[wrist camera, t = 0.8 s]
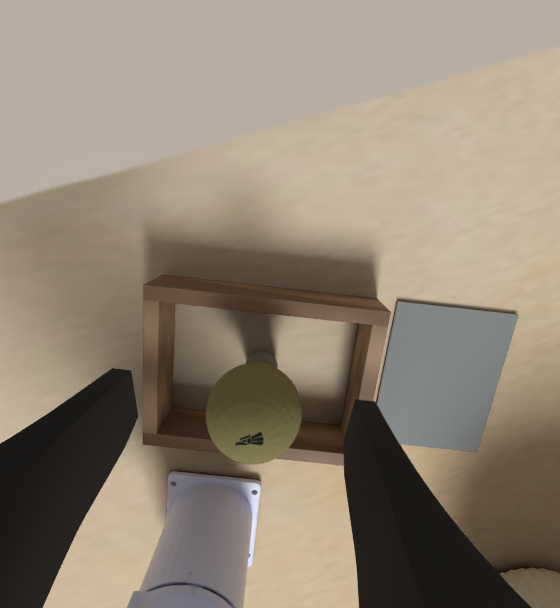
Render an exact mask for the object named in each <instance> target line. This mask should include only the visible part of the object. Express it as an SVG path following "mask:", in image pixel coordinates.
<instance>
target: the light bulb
mask: <svg viewBox="0 0 560 608" xmlns="http://www.w3.org/2000/svg"><path fill="white" fill-rule="evenodd" d="M301 418H302V409H301V401H300V397H299V395H298V392H297V390H296V388H295V386H294V385H293V383H292V381H291V380H290V379H289V378H288V377H287V376H286V375H285V374H284V373H283V372H281V371H280V370H278V369H277V361H276V359H275V357H274V356H273V355H272V354H270V353H268V352H265V351H258V352H255V353H253V354H251V355H250V356H249V358H248V359H247V362H246V364H243V365H240V366H238V367H236V368H233V369H232V370H230V371H228V372H227V373H226V374H225V375H224V376H223V377H222V378H221V379H220V380H219V381H218V382H217V383H216V385H215V386H214V388H213V390H212V392H211V394H210V396H209V398H208V402H207V407H206V423H207V427H208V431H209V435H210V437H211V439H212V441H213V442H214V444H215V445H216V446H217V448H218V449H219V450H220V451H221V452H222V453H223V454H224V455H225V456H227V457H229V458H230V459H232V460H234V461H237V462H240V463H244V464H262V463H266V462H269V461H271V460H273V459H275V458H277V457H278V456H280V455H281V454H282V453H284V452H285V451H286V450H287V449H288V448H289V447H290V445H291V444H292V443H293V441H294V439H295V437H296V436H297V434H298V431H299V428H300V424H301Z"/></svg>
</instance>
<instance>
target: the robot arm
mask: <svg viewBox="0 0 560 608" xmlns="http://www.w3.org/2000/svg"><path fill="white" fill-rule="evenodd" d="M137 418H138V412H137V406H136V399H135V393H134V386H133V380H132V373H131V371H130V370H122V369H114V368H112V369H111V370H109V371H108V372H107V373H105V374H104V375H102V376H101V377H99V378H98V379H97V380H95V381H94V382H92V383H91V384H90V385H88V386H87V387H85V388H84V389H83V390H81V391H80V392H78V393H77V394H76V395H74V396H73V397H71V398H70V399H68V400H67V401H66V402H64V403H63V404H61V405H60V406H58V407H57V408H55V409H54V410H53V411H51V412H50V413H48V414H47V415H45V416H44V417H42V418H40V419H39V420H37V421H36V422H34V423H33V424H31V425H29V426H28V427H26V428H25V429H23V430H22V431H20V432H19V433H17V434H15V435H14V436H12V437H11V438H9V439H7V440H6V441H4V442H2V443H1V444H0V608H43V605H44V603H45V601H46V599H47V596H48V594H49V592H50V590H51V587H52V585H53V583H54V581H55V578H56V576H57V574H58V571H59V569H60V567H61V565H62V563H63V561H64V558H65V556H66V554H67V552H68V550H69V548H70V546H71V543H72V541H73V539H74V537H75V535H76V533H77V531H78V529H79V527H80V525H81V523H82V521H83V520H84V518H85V516H86V514H87V512H88V511H89V509H90V507H91V505H92V504H93V502H94V500H95V498H96V497H97V495H98V493H99V492H100V490H101V488H102V486H103V485H104V483H105V481H106V479H107V478H108V476H109V474H110V473H111V471H112V469H113V467H114V466H115V464H116V462H117V460H118V458H119V457H120V455H121V453H122V451H123V450H124V448H125V446H126V444H127V441H128V439H129V437H130V435H131V432H132V430H133V427H134V425H135V422H136V420H137ZM343 447H344V476H345V484H346V491H347V498H348V506H349V513H350V520H351V527H352V534H353V541H354V548H355V556H356V565H357V578H358V596H359V608H532V607H531V606H530V605H529V604H528V603H527V602H526V601H525V600H524V599H523V598H522V597H521V596H520V595H519V594H518V593H517V592H516V591H515V590H514V589H513V588H512V587H511V586H510V585H509V584H508V583H507V582H506V580H505V579H504V578H503V577H502V576H501V575H500V574H499V573H498V572H497V571H496V570H495V569H494V567H493V566H492V565H491V564H490V563H489V562H488V561H487V560H486V559H485V558H484V557H483V555H482V554H481V553H480V552H479V551H478V550H477V549H476V547H475V546H474V545H473V544H472V543H471V542H470V540H469V539H468V538H467V537H466V536H465V534H464V533H463V532H462V531H461V530H460V528H459V527H458V526H457V525H456V523H455V522H454V521H453V520H452V518H451V517H450V516H449V515H448V513H447V512H446V511H445V509H444V508H443V507H442V506H441V504H440V503H439V502H438V500H437V499H436V497H435V496H434V495H433V493H432V492H431V491H430V489H429V488H428V486H427V485H426V483H425V482H424V481H423V479H422V478H421V476H420V475H419V473H418V472H417V470H416V469H415V467H414V466H413V464H412V463H411V461H410V460H409V458H408V456H407V455H406V453H405V452H404V450H403V449H402V447H401V445H400V444H399V442H398V440H397V439H396V437H395V435H394V434H393V432H392V430H391V429H390V427H389V425H388V423H387V422H386V420H385V418H384V416H383V414H382V413H381V411H380V409H379V407H378V405H377V404H376V403H375V401H367V400H359V399H355V402H354V406H353V409H352V413H351V417H350V420H349V424H348V428H347V431H346V435H345V439H344V442H343ZM173 481H174V482H176V483H173ZM253 490H256V491H253ZM260 492H261V483H260V481H258V480H253V479H243V478H234V477H224V476H214V475H205V474H195V473H186V472H176V471H173V472H171V473H170V474H169V476H168V493H167V521H166V523H165V526H164V528H163V531H162V533H161V536H160V539H159V541H158V544H157V546H156V549H155V551H154V554H153V557H152V559H151V562H150V564H149V567H148V570H147V572H146V575H145V577H144V580H143V582H142V585H141V588H140V590H139V591H134V592H133V594H132V597H131V599H130V602H129V604H128V607H127V608H243V604H244V595H245V586H246V576H247V567H250V566H251V565H252V562H253V553H254V544H255V536H256V527H257V518H258V509H259V501H260Z"/></svg>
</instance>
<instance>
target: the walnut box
mask: <svg viewBox="0 0 560 608" xmlns="http://www.w3.org/2000/svg"><path fill="white" fill-rule="evenodd" d="M175 303H176V304H185V305H194V306H204V307H213V308H222V309H231V310H240V311H249V312H258V313H267V314H277V315H286V316H295V317H304V318H313V319H322V320H331V321H341V322H350V323H359V328H358V333H357V339H356V344H355V350H354V356H353V361H352V367H351V373H350V378H349V384H348V390H347V395H346V401H345V406H344V412H343V418H342V423H341V426H339V425H330V424H320V423H311V422H302V421H301V424H300V428H299V431H298V434H297V436H296V437H295V439H294V441H293V443H292V444H291V445H290V447H289V448H288V449H287V450H286V451H285V452H284V453H282V454H281V455H280V456H278V457H277V458H275V459H285V460H294V461H304V462H313V463H323V464H332V465H342V466H344V447H343V442H344V439H345V435H346V431H347V428H348V424H349V420H350V417H351V413H352V409H353V406H354V402H355V399H359V400H367V401H373V398H374V393H375V388H376V383H377V378H378V373H379V368H380V363H381V358H382V353H383V348H384V343H385V338H386V333H387V329H388V324H389V319H390V314H391V312H390V311H389V310H388V309H387V308H386V307H385V306H384V305H383V304H382V303H381V302H380V301H379V300H378V299H375V298H366V297H357V296H348V295H339V294H330V293H321V292H312V291H303V290H294V289H285V288H276V287H267V286H257V285H248V284H239V283H230V282H221V281H212V280H203V279H194V278H185V277H176V276H167V275H162V276H160V277H158V278H156V279H154V280H152V281H150V282H148V283H146V284H144V302H143V445H152V446H161V447H171V448H180V449H190V450H199V451H209V452H218V453H222V452H221V451H220V450H219V449H218V448H217V446H216V445H215V444H214V442H213V441H212V439H211V437H210V435H209V431H208V427H207V423H206V411H198V410H189V409H180V408H172V390H173V357H174V324H175Z"/></svg>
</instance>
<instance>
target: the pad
mask: <svg viewBox="0 0 560 608" xmlns="http://www.w3.org/2000/svg"><path fill="white" fill-rule="evenodd" d="M517 318H518V314H511V313H502V312H493V311H484V310H475V309H466V308H457V307H448V306H439V305H430V304H421V303H412V302H403V301H397V305H396V309H395V314H394V319H393V324H392V329H391V334H390V339H389V344H388V349H387V353H386V358H385V363H384V368H383V373H382V378H381V383H380V388H379V393H378V398H377V402H376V404H377V405H378V407H379V409H380V411H381V413H382V414H383V416H384V418H385V420H386V422H387V423H388V425H389V427H390V429H391V430H392V432H393V434H394V435H395V437H396V439H397V440H398V442H399V444H404V445H414V446H423V447H433V448H442V449H451V450H461V451H470V452H477V450H478V447H479V444H480V440H481V437H482V434H483V431H484V427H485V424H486V421H487V417H488V414H489V411H490V407H491V404H492V401H493V398H494V394H495V391H496V388H497V384H498V381H499V378H500V374H501V371H502V368H503V364H504V361H505V358H506V355H507V351H508V348H509V345H510V341H511V338H512V335H513V331H514V328H515V325H516V321H517Z"/></svg>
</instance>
